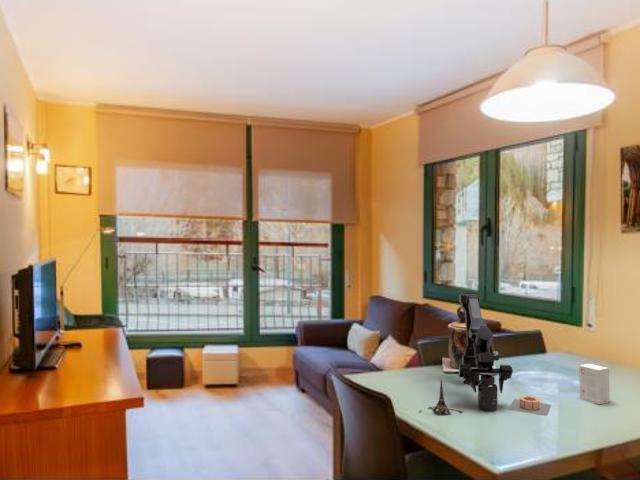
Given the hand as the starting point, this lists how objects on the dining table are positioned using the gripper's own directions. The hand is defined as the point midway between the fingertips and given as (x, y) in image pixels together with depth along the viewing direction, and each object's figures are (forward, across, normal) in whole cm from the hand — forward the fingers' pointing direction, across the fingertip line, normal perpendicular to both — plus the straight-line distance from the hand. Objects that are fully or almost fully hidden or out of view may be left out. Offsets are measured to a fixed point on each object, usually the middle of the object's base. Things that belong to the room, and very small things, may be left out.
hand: (488, 392), depth 174 cm
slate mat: (+2, +16, +8) cm, 17 cm away
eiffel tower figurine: (+8, -17, +2) cm, 19 cm away
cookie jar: (-36, +2, +46) cm, 59 cm away
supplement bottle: (+4, 0, +6) cm, 7 cm away
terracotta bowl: (+1, +16, +8) cm, 17 cm away
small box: (-6, +42, +16) cm, 46 cm away
